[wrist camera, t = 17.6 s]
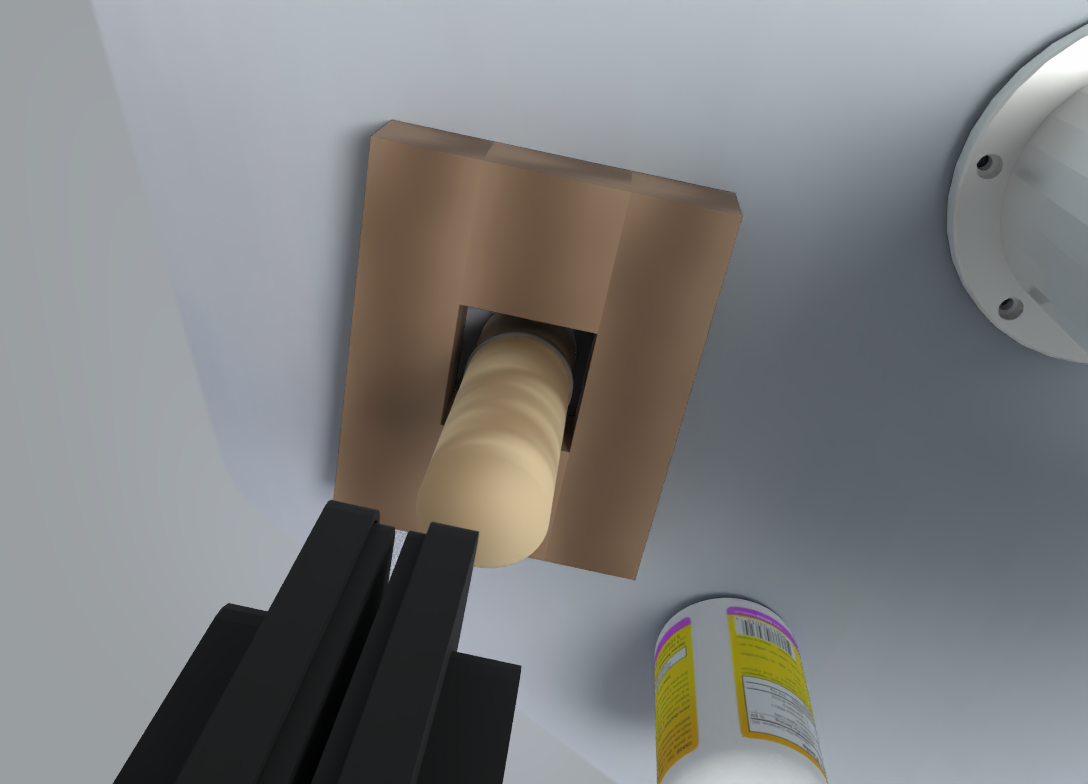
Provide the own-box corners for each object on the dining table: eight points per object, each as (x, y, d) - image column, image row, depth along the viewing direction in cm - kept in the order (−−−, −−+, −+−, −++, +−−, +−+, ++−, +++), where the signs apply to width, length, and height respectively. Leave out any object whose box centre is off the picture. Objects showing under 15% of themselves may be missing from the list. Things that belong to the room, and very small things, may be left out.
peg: (588, 312, 38) (564, 469, 27) (567, 402, 40) (538, 582, 29) (486, 290, 38) (422, 438, 27) (470, 381, 40) (405, 554, 29)
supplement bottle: (671, 708, 47) (679, 964, 35) (639, 603, 44) (637, 844, 33) (808, 689, 45) (863, 949, 34) (785, 579, 43) (835, 822, 31)
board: (735, 193, 35) (742, 215, 32) (635, 538, 42) (634, 580, 40) (391, 119, 35) (370, 136, 32) (351, 477, 42) (331, 515, 40)
